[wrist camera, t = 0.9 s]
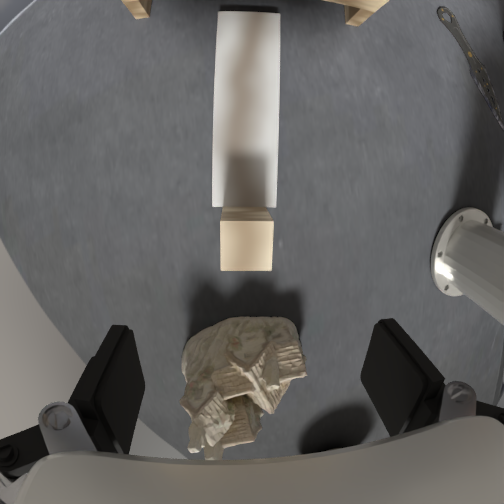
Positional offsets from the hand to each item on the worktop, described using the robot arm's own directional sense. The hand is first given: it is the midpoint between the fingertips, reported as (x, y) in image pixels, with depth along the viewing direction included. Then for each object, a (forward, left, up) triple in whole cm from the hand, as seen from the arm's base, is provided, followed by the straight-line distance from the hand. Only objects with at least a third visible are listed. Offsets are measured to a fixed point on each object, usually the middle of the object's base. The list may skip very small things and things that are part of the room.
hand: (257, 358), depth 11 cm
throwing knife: (-31, -23, -22) cm, 45 cm away
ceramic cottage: (0, +19, -22) cm, 29 cm away
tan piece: (0, -10, -21) cm, 24 cm away
